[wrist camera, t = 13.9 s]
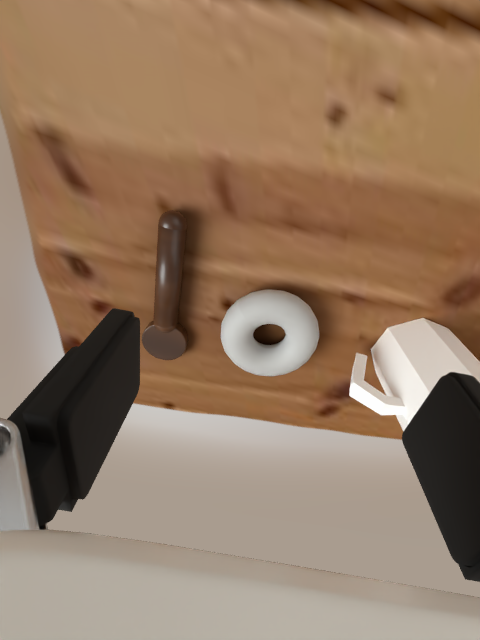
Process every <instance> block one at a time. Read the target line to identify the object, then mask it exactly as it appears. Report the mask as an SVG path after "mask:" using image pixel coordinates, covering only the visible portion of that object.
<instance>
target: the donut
mask: <svg viewBox="0 0 480 640" xmlns="http://www.w3.org/2000/svg"><path fill="white" fill-rule="evenodd" d="M264 324H276V325H278V326H280V327H282V328H283V329H284V330H285V333H286V336H285V338H284V339H283V340H282V341H281V342H279V343H277V344H274V345H264V344H261V343H258V342H257V341H256V340H255V339H254V337H253V332H254V331H255V329H256V328H257V327H259V326H261V325H264ZM318 339H319V328H318V320H317V319H316V317H315V315H314V313H313V311H312V310H311V308H310V306H308V305H307V304H306V303H305V302H304V301H303V300H301V299H300V298H299V297H298V296H295V295H293V294H290V293H288V292H285V291H280V290H270V289H267V290H261V291H256V292H251V293H250V294H248V295H246V296H244V297H242V298H240V299H238V300H237V301H236V302H235V303H234V304H233V305H232V306H231V307H230V308H229V309H228V311H227V313H226V315H225V317H224V319H223V322H222V324H221V341H222V344H223V347H224V350H225V352H226V354H227V355H228V356H229V357H230V359H231V360H232V361H233V363H234V364H236V365H237V366H239V367H240V368H242V369H243V370H244V371H247V372H250V373H253V374H255V375H262V376H277V375H284V374H287V373H289V372H292V371H294V370H297V369H298V368H299V367H301V366H302V365H303V364H305V363H306V362H307V361H308V360H309V358H310V357H311V355H312V354H313V353H314V351H315V350H316V347H317V343H318Z"/></svg>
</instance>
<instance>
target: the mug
mask: <svg viewBox="0 0 480 640" xmlns="http://www.w3.org/2000/svg"><path fill="white" fill-rule="evenodd" d="M371 353H372V358H373V363H374V367H375V372H376V374H377V376H378V379H379V381H380V383H381V385H382V387H383V389H384V391H385V393H386V395H387V396H386V395H384V394H383V393H381V392H380V391H378V390H377V389H375V388H374V387H373V386H371V385H370V384H368V383H367V382H365V381H364V374H365V368H366V361H367V356H366V355H362V354H359V353H356V357H355V361H354V365H353V369H352V376H351V383H350V396H351V397H352V398H354V399H356V400H357V401H359V402H361V403H362V404H364V405H365V406H367V407H369V408H370V409H372V410H374V411H375V412H377V413H379V414H380V415H396V417H397V419H398V421H399V423H400V425H401V427H402V429H403V431H404V430H405V428H406V427H407V426H408V424H409V423H410V421H411V420H412V418H413V417H414V415H415V414H416V412H417V411H418V410H419V408H420V407H421V405H422V404H423V402H424V401H425V399H426V398H427V396H428V395H429V394H430V392H431V391H432V389H433V388H434V386H435V385H436V383H437V382H438V380H439V379H440V378H441V377H442V376H444V375H446V374H448V373H450V372H456V373H461V374H467V375H471V376H474V377H475V378H476V379H477V380H478V381H479V383H480V362H479V360H478V359H477V358H476V357H475V356H474V355H473V354H472V353H471V352H470V351H469V350H468V349H467V348H466V347H465V346H464V345H463V343H462V342H461V341H460V340H459V339H458V338H457V337H456V336H455V335H454V334H453V333H452V332H451V331H450V330H449V329H448V328H446V327H444V326H441V325H439V324H437V323H434V322H432V321H429V320H427V319H425V318H420V319H417V320H413V321H409V322H406V323H402V324H399V325H395V326H391V327H388V328H387V329H386V331H385V332H384V333H383V334H382V336H381V337H380V338H379V340H378V341H377V342H376V343H375V345H374V346H373V347H372V349H371Z"/></svg>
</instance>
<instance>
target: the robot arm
mask: <svg viewBox="0 0 480 640" xmlns="http://www.w3.org/2000/svg"><path fill="white" fill-rule="evenodd" d="M139 385H140V320H139V318H136V317H134V313H133V312H131V311H125V310H120V309H112V310H111V311H110V312H109V313H108V314H107V315H106V316H105V318H104V319H103V320H102V321H101V322H100V323H99V325H98V326H97V327H96V328H95V329H94V330H93V331H92V333H91V334H90V335H89V336H88V337H87V338H86V339H85V341H84V342H83V343H82V344H81V345H80V346H79V347H77V346H76V347H73V348H71V349H70V350H69V351H68V352H67V353H66V354H65V355H64V357H63V358H62V359H61V360H60V361H59V362H58V363H57V364H56V366H55V367H54V368H53V369H52V370H51V371H50V372H49V373H48V374H47V376H46V377H45V378H44V379H43V380H42V381H41V382H40V383H39V384H38V386H37V387H36V388H35V389H34V390H33V391H32V392H31V393H30V394H29V395H28V397H27V398H26V399H25V400H24V401H23V402H22V403H21V404H20V406H19V407H18V408H17V409H16V410H15V411H14V412H13V413H12V414H11V416H10V417H9V418H8V419H7V420H6V419H3V418H0V640H480V598H479V597H474V596H469V595H463V594H457V593H452V592H445V591H440V590H434V589H428V588H423V587H417V586H411V585H406V584H399V583H394V582H388V581H382V580H376V579H370V578H365V577H359V576H353V575H347V574H341V573H335V572H329V571H323V570H317V569H311V568H306V567H300V566H294V565H288V564H282V563H276V562H270V561H263V560H257V559H252V558H245V557H239V556H233V555H227V554H221V553H215V552H209V551H203V550H197V549H191V548H185V547H179V546H172V545H167V544H160V543H153V542H146V541H139V540H132V539H125V538H118V537H111V536H105V535H98V534H91V533H80V532H68V531H58V530H48V527H47V522H49V521H51V520H52V519H53V518H54V516H55V514H56V512H57V510H65V511H71V512H72V510H73V508H74V506H75V504H76V502H77V500H78V499H84V498H85V497H86V496H87V494H88V493H89V490H90V489H91V487H92V484H93V482H94V480H95V478H96V476H97V474H98V472H99V470H100V468H101V466H102V464H103V462H104V460H105V458H106V456H107V454H108V452H109V450H110V448H111V446H112V444H113V442H114V440H115V438H116V436H117V434H118V432H119V430H120V428H121V426H122V424H123V422H124V420H125V418H126V416H127V414H128V412H129V410H130V408H131V405H132V404H133V402H134V400H135V398H136V396H137V393H138V390H139ZM402 441H403V444H404V446H405V449H406V451H407V454H408V456H409V458H410V461H411V463H412V465H413V468H414V470H415V472H416V475H417V477H418V479H419V482H420V484H421V486H422V489H423V491H424V493H425V496H426V498H427V500H428V502H429V505H430V507H431V510H432V512H433V514H434V517H435V519H436V521H437V523H438V526H439V528H440V531H441V533H442V535H443V538H444V540H445V542H446V545H447V547H448V549H449V551H450V554H451V556H452V558H453V559H454V561H455V562H456V563H458V564H459V566H460V569H461V571H462V573H463V576H464V577H465V579H467V580H473V581H479V582H480V383H479V381H478V380H477V379H476V378H475V377H474V376H471V375H467V374H461V373H456V372H450V373H448V374H446V375H444V376H442V377H441V378H440V379H439V380H438V382H437V383H436V385H435V386H434V388H433V389H432V391H431V392H430V394H429V395H428V396H427V398H426V399H425V401H424V402H423V404H422V405H421V407H420V408H419V410H418V411H417V412H416V414H415V415H414V417H413V418H412V420H411V421H410V423H409V424H408V426H407V427H406V428H405V430H404V432H403V435H402Z"/></svg>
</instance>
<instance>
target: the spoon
mask: <svg viewBox="0 0 480 640" xmlns="http://www.w3.org/2000/svg"><path fill="white" fill-rule="evenodd" d="M186 231H187V222H186V220H185V218H184V216H183V215H182V214H181V213H179V212H177V211H173V210H172V211H167V212H165V213H163V214H162V216H161V217H160V219H159V224H158V244H157V263H156V283H155V302H154V321H152V322H151V323H149V324H148V326H147V327H146V329H145V331H144V333H143V335H142V342H143V345H144V347H145V349H146V350H147V351H148V352H149V353H150V354H151V355H152V356H154V357H156V358H159V359H162V360H173V359H176V358H178V357H180V356H181V355H182V354H183V353H184V351H185V349H186V346H187V343H188V335H187V332H186V330H185V329H184V328H183V326H182V325H180V324H179V323H178V312H179V302H180V292H181V282H182V271H183V261H184V251H185V241H186Z"/></svg>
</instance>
